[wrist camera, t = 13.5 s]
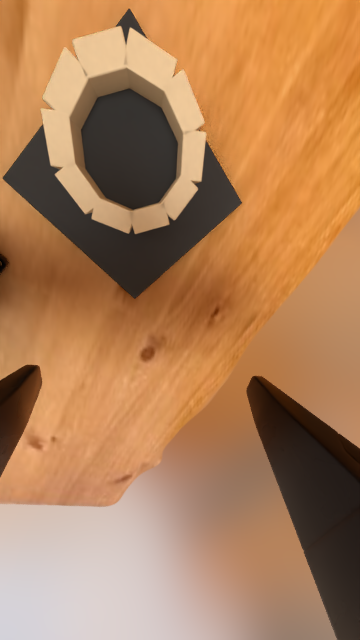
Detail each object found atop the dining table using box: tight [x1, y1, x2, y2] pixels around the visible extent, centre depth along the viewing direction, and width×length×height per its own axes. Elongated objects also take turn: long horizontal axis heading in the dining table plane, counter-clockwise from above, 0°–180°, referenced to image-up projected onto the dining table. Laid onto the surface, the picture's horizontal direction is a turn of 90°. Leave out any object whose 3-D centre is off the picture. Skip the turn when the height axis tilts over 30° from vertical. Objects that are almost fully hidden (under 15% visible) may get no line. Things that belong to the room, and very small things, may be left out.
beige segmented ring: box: [41, 26, 206, 234], centre depth 13 cm, size 9×9×2 cm
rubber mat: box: [3, 9, 242, 298], centre depth 16 cm, size 12×12×1 cm
